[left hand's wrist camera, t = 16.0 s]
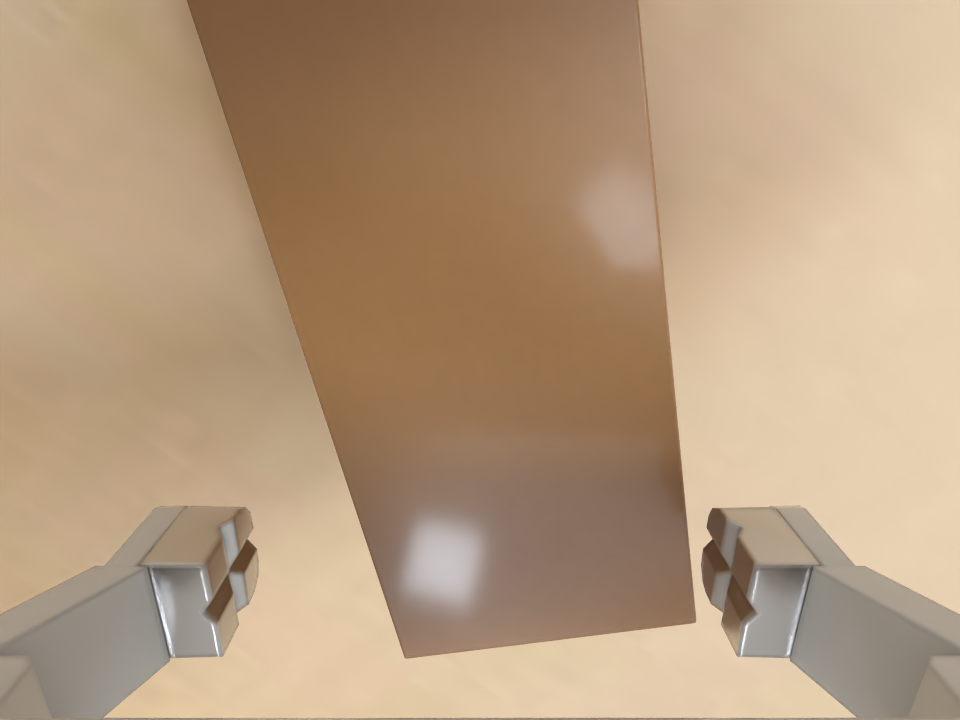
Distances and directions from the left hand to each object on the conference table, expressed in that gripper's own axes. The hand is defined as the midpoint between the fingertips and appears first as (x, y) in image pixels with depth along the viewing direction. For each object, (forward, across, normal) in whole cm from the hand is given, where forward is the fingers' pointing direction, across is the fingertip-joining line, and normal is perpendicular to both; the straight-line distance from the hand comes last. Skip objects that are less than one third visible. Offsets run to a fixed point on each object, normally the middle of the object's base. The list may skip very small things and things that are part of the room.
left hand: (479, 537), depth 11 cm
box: (+10, +1, -10) cm, 14 cm away
